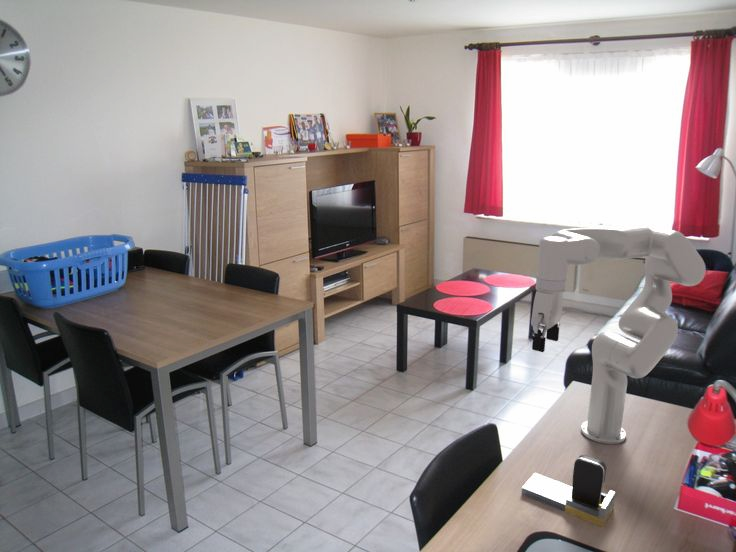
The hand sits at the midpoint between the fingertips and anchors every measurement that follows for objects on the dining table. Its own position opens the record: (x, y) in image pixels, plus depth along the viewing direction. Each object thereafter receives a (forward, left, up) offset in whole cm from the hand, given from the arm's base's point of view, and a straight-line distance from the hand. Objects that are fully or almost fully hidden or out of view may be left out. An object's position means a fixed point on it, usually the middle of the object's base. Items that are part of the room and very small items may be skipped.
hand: (545, 345), depth 161 cm
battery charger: (+16, +20, -31) cm, 40 cm away
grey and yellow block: (+17, +15, -32) cm, 39 cm away
